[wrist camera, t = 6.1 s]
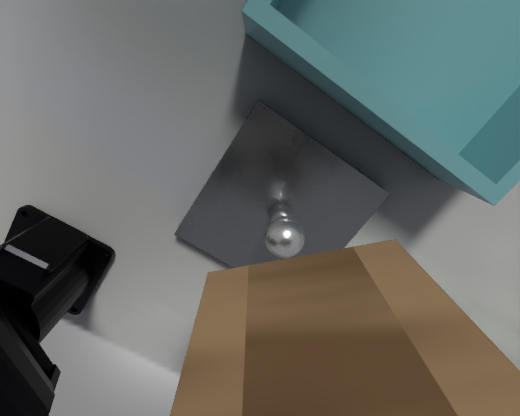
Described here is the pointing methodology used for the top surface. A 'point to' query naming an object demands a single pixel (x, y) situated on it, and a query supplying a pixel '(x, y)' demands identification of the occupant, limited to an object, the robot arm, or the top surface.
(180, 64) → the top surface
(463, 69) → the bin
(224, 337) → the taped shipping carton
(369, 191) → the stud plate
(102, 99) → the top surface
